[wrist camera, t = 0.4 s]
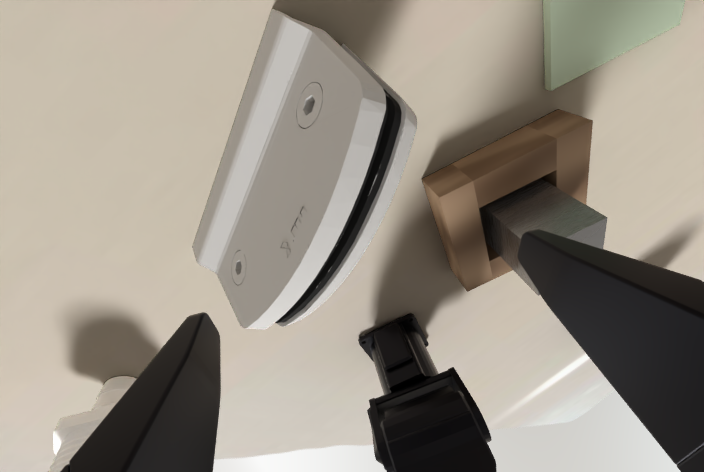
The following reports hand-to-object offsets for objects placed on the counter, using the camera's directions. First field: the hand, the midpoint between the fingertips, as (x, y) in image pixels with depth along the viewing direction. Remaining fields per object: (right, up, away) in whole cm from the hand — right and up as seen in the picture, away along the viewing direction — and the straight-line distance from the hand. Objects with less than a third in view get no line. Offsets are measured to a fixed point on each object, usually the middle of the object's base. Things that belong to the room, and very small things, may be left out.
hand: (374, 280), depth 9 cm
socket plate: (+12, +4, +18) cm, 22 cm away
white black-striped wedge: (-5, +6, +12) cm, 15 cm away
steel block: (+12, +4, +18) cm, 22 cm away
